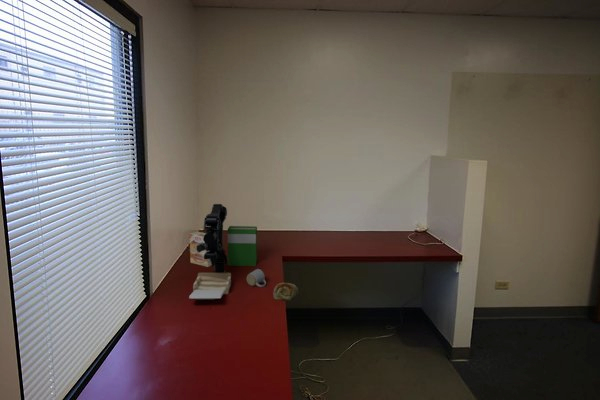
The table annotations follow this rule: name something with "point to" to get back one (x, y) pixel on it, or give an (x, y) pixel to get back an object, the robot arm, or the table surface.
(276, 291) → the pastry
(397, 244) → the table surface
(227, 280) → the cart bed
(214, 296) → the panel
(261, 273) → the ceramic mug
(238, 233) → the hardback book
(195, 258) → the coffeecake box
